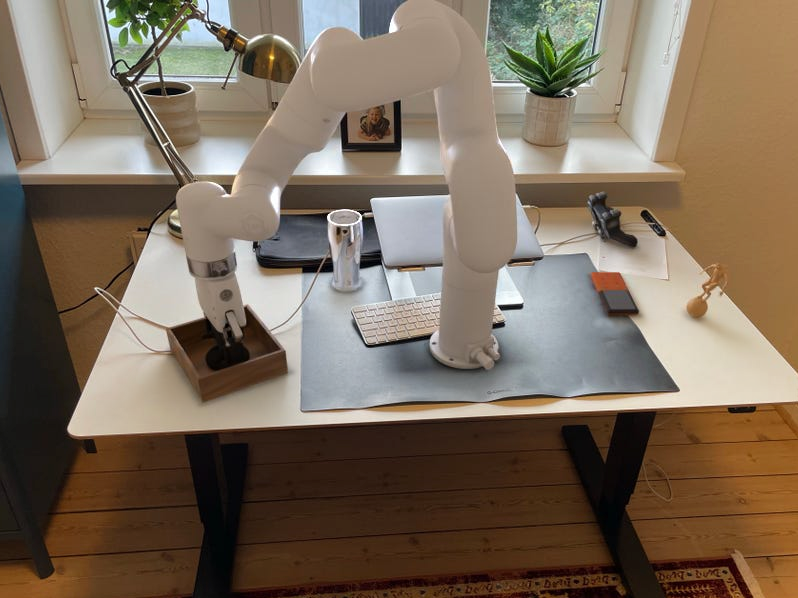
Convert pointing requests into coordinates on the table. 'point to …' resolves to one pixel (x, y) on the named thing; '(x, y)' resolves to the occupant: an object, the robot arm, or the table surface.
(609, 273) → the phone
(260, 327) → the wooden box
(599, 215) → the dark grey mechanical bracket
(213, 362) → the webcam
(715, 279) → the figurine
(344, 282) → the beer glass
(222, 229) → the robot arm
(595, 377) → the table surface
